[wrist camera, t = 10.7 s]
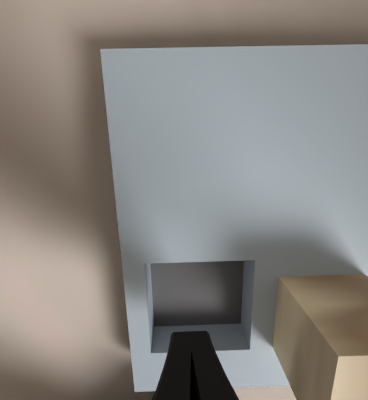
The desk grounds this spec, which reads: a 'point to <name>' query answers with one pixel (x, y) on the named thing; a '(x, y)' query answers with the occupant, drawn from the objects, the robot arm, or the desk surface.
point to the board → (233, 190)
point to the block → (323, 336)
